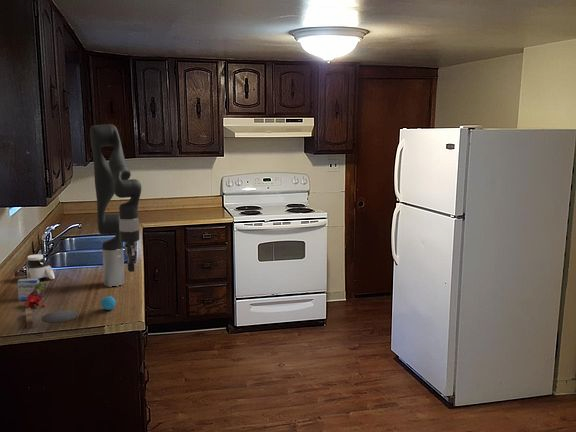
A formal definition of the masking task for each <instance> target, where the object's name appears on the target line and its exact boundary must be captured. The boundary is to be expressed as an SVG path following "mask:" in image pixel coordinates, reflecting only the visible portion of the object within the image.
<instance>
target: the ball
mask: <svg viewBox="0 0 576 432" xmlns="http://www.w3.org/2000/svg"><path fill="white" fill-rule="evenodd" d="M100 304H101V305H100V306H101V307H102V309H104V310H106V311H111V310H112V309H114V308H115V305H116V304H117V303H116V299H115V298H114V297H113V296H110V295H108V296H105V297H103V298H102V299H101V301H100Z"/></svg>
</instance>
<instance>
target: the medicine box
mask: <svg viewBox="0 0 576 432" xmlns="http://www.w3.org/2000/svg"><path fill="white" fill-rule="evenodd" d="M38 283H40V281H39V278H28V277H27V278H19V279H18V280H17V294H18V295H17V297H18V301H19V302H24V301H26V302H27V301H28V295H29V294H30V293H31V292H33V289H34V288H35V286H36V285H37V284H38Z"/></svg>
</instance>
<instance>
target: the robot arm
mask: <svg viewBox="0 0 576 432" xmlns="http://www.w3.org/2000/svg"><path fill="white" fill-rule="evenodd" d="M89 137H90V144H91V151H92V158H93V171H94V175H93V177H94V189H95V196H96V209H97V210H96V215H97V216H96V217H97V219H96V221H97V230H98V232H99V234H100V235H114V236H113V237H112V238H111V239H108V240H105V241H104V242H102V244H101V250H102V252H101V253H102V269H103V286H104V285H105V287H107V286H108V288H113V287H112V286H117V287H120V286H119V285H121V286H123V285H122V284H124V283H125V280H126V279H125V261H124V260H125V259H126V262H127V270H128V271H129V273H132V272H135V262H137V246H136V244H135V242H138V241H140V222H139V214H138V213H139V202H140V197H141V195H142V194H141V193H142V184H141V182H140V180H139V179H134V178H133V179H130V178H131V175H132V173H131V170H130V168H129V165H128V163H127V161H126V158H125V154H124V151H123V150H124V149H123V146H122V141H121V138H120V133H119V130H118V128H117V127H116V125H114V124H112V123H108V124H107V123H105V124H95V125H92V126H90V128H89ZM111 146H113V149H112V153H111V155H110V157H109V160H108V161H107V159H106V158H105V157H104V155H103V153H102V151H101V150H102V148H104V147H111ZM114 196H115V197H118V198H120V199H122V198H123V199H124V198H130V199H129V200H128V201H126V202H123V203H121V204H120V205H119V207H118V210H119V211H118V212H119V213H107V214H106V213H105V211H106V209H107V207H108V205H109V204H110V201H111V200H112V199H113V197H114ZM124 243H125V244H124ZM124 255H125V256H124ZM124 258H125V259H124ZM124 285H125V284H124Z"/></svg>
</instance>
